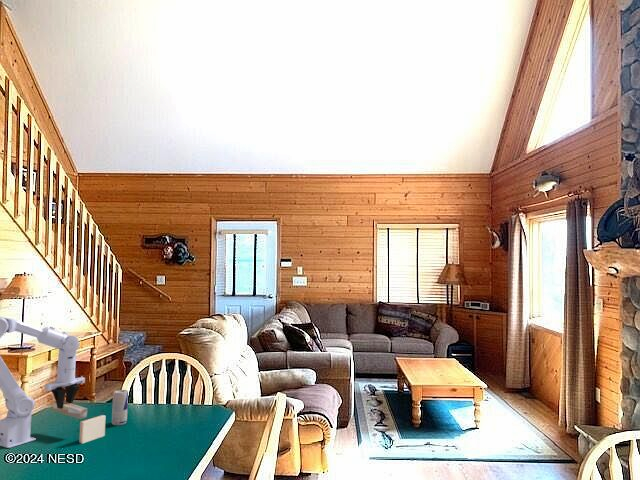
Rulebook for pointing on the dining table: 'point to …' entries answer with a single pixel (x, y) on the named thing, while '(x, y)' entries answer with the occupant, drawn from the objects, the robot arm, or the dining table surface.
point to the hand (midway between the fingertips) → (64, 406)
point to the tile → (92, 429)
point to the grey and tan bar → (71, 410)
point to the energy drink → (119, 407)
